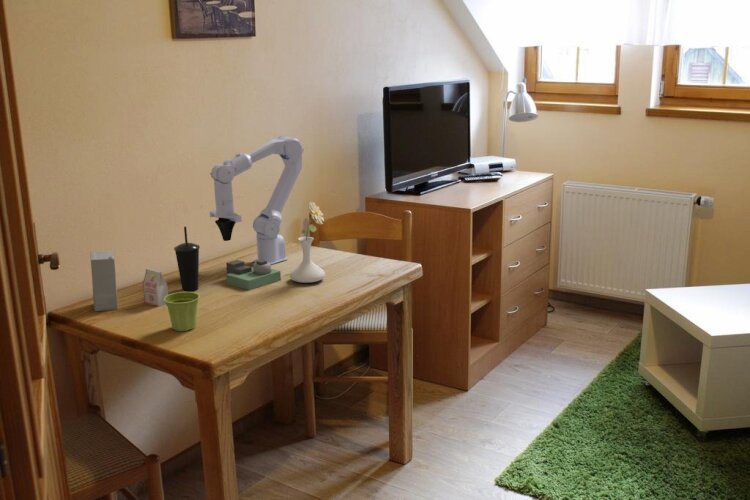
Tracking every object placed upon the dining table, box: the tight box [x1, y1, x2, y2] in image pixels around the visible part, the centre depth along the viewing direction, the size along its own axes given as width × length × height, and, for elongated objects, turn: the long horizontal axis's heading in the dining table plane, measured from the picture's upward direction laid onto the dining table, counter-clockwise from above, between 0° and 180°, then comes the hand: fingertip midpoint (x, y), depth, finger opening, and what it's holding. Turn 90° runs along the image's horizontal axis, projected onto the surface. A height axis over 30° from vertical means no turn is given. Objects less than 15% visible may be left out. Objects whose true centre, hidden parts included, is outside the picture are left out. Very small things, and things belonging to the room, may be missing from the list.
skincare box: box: [90, 250, 118, 312], centre depth 225 cm, size 8×7×16 cm
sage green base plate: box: [225, 260, 282, 291], centre depth 246 cm, size 13×11×7 cm
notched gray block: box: [225, 259, 252, 275], centre depth 249 cm, size 4×7×6 cm, turn 48°
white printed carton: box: [142, 268, 169, 308], centre depth 227 cm, size 4×7×10 cm, turn 52°
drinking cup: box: [173, 226, 201, 292], centre depth 238 cm, size 8×8×20 cm
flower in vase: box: [289, 201, 326, 284], centre depth 245 cm, size 13×11×25 cm
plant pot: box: [164, 291, 201, 332], centre depth 207 cm, size 9×9×9 cm
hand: (227, 240), depth 260 cm, fingers closed
